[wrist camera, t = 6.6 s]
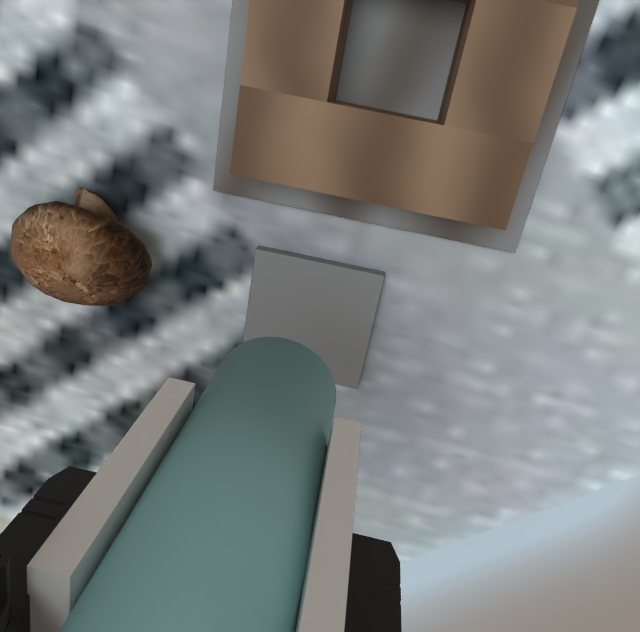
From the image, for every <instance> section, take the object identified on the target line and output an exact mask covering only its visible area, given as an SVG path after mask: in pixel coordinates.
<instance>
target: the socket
mask: <svg viewBox="0 0 640 632" xmlns="http://www.w3.org/2000/svg"><path fill="white" fill-rule="evenodd" d="M598 2H599V0H233V2H232V11H231V21H230V31H229V41H228V50H227V60H226V70H225V80H224V89H223V99H222V109H221V119H220V128H219V138H218V148H217V158H216V167H215V177H214V187H213V190H214V191H219V192H223V193H228V194H233V195H238V196H243V197H248V198H252V199H257V200H262V201H267V202H272V203H277V204H281V205H286V206H291V207H296V208H301V209H306V210H310V211H315V212H320V213H325V214H330V215H335V216H339V217H344V218H349V219H354V220H359V221H363V222H368V223H373V224H378V225H383V226H388V227H392V228H397V229H402V230H407V231H412V232H417V233H421V234H426V235H431V236H436V237H441V238H446V239H450V240H455V241H460V242H465V243H470V244H475V245H479V246H484V247H489V248H494V249H499V250H504V251H508V252H513V253H515V251H516V248H517V245H518V242H519V239H520V236H521V233H522V230H523V227H524V224H525V221H526V218H527V215H528V212H529V209H530V206H531V203H532V200H533V197H534V194H535V191H536V188H537V185H538V182H539V179H540V176H541V173H542V170H543V167H544V164H545V161H546V158H547V155H548V152H549V149H550V146H551V143H552V140H553V137H554V134H555V131H556V128H557V125H558V122H559V119H560V116H561V113H562V110H563V107H564V104H565V101H566V98H567V95H568V92H569V89H570V86H571V83H572V80H573V77H574V74H575V71H576V68H577V65H578V62H579V59H580V56H581V53H582V50H583V47H584V44H585V41H586V38H587V35H588V32H589V29H590V26H591V23H592V20H593V17H594V14H595V11H596V8H597V5H598Z"/></svg>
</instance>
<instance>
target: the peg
mask: <svg viewBox="0 0 640 632" xmlns="http://www.w3.org/2000/svg"><path fill="white" fill-rule="evenodd" d="M335 402H336V388H335V383H334V380H333V377H332V375H331V372H330V371H329V369H328V367H327V366H326V364H325V363H324V362H323V361H322V359H321V358H320V357H319V356H318V355H317V354H316V353H314V352H313V351H312V350H310V349H309V348H307V347H306V346H304V345H302V344H300V343H298V342H295V341H293V340H289V339H286V338H280V337H260V338H255V339H251V340H248V341H246V342H244V343H242V344H240V345H238V346H237V347H235V348H234V349H232V350H231V351H230V352H229V353H228V354H227V355H226V357H225V358H224V359H223V361H222V363H221V364H220V366H219V368H218V369H217V371H216V372H215V374H214V376H213V377H212V379H211V381H210V382H209V384H208V386H207V387H206V389H205V391H204V392H203V394H202V396H201V397H200V399H199V401H198V402H197V404H196V406H195V407H194V409H193V411H192V412H191V414H190V416H189V417H188V419H187V420H186V422H185V424H184V425H183V427H182V429H181V430H180V432H179V434H178V435H177V437H176V439H175V440H174V442H173V444H172V445H171V447H170V449H169V450H168V452H167V454H166V455H165V457H164V459H163V460H162V462H161V463H160V465H159V467H158V468H157V470H156V472H155V473H154V475H153V477H152V478H151V480H150V482H149V483H148V485H147V487H146V488H145V490H144V492H143V493H142V495H141V497H140V498H139V500H138V502H137V503H136V505H135V507H134V508H133V510H132V511H131V513H130V515H129V516H128V518H127V520H126V521H125V523H124V525H123V526H122V528H121V530H120V531H119V533H118V535H117V536H116V538H115V540H114V541H113V543H112V545H111V546H110V548H109V550H108V551H107V553H106V555H105V556H104V558H103V559H102V561H101V563H100V564H99V566H98V568H97V569H96V571H95V573H94V574H93V576H92V578H91V579H90V581H89V583H88V584H87V586H86V588H85V589H84V591H83V593H82V594H81V596H80V598H79V599H78V601H77V602H76V604H75V606H74V607H73V609H72V611H71V612H70V614H69V616H68V617H67V619H66V621H65V622H64V624H63V626H62V627H61V629H60V631H59V632H295V629H296V624H297V618H298V612H299V606H300V601H301V595H302V589H303V583H304V578H305V572H306V566H307V560H308V554H309V549H310V543H311V537H312V531H313V526H314V520H315V514H316V508H317V503H318V497H319V491H320V485H321V480H322V474H323V468H324V462H325V456H326V451H327V445H328V441H329V437H330V431H331V425H332V420H333V414H334V408H335Z"/></svg>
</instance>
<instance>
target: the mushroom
mask: <svg viewBox="0 0 640 632" xmlns="http://www.w3.org/2000/svg"><path fill="white" fill-rule="evenodd" d="M10 250H11V255H12V258H13V260H14V262H15V264H16V265H17V267H18V268H19V269H20V271H21V272H22V273H23V275H24V276H25V278H26V279H27V280H28V282H29V283H31V284H32V285H33V286H34V287H35V288H37V289H38V290H40V291H41V292H43V293H44V294H46V295H49V296H51V297H54V298H56V299H59V300H61V301H64V302H69V303H75V304H81V305H96V306H103V305H112V304H118V303H120V302H122V301H124V300H126V299H128V298H130V297H131V296H133V295H135V294H137V293H138V292H139V291H141V290H142V288H143V287H144V286H145V285H146V282H147V279H148V276H149V273H150V270H151V267H152V262H151V258H150V256H149V254H148V252H147V250H146V248H145V246H144V244H143V243H142V241H141V240H139V239H138V238H137V237H136V236H135V235H134V234H133V233H132V232H131V231H130V230H129V229H127V228H126V227H124V226H122V225H121V224H119V223H118V220H117V217H116V216H115V214H114V213H113V211H112V210H111V209H110V208H109V206H108V205H107V204H106V203H105V202H104V201H103V200H102V199H101V198H100V197H98V196H97V195H96V194H94V193H93V192H91V191H89V190H87V189H86V188H78V189H77V190H76V199H75V204H74V205H70V204H66V203H62V202H58V201H54V202H49V203H43V204H37V205H34V206H32V207H29V208H28V209H27V210H26V211H25V212H24V213H22V214H21V215H20V216H19V217H18V218H17V219H16V220H15V222H14V223H13V225H12V234H11V245H10Z"/></svg>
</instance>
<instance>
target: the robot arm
mask: <svg viewBox="0 0 640 632" xmlns="http://www.w3.org/2000/svg"><path fill="white" fill-rule="evenodd" d="M194 390H195V383H191V382H187V381H183V380H178V379H174V378H170V377H169V378H168V379H167V380H166V382H165V383H164V384H163V386H162V387H161V388H160V390H159V391H158V392H157V394H156V395H155V396H154V398H153V399H152V400H151V402H150V403H149V404H148V406H147V407H146V408H145V410H144V411H143V412H142V414H141V415H140V416H139V417H138V419H137V420H136V421H135V423H134V424H133V425H132V427H131V428H130V429H129V431H128V432H127V433H126V435H125V436H124V437H123V439H122V440H121V441H120V443H119V444H118V445H117V447H116V448H115V449H114V451H113V452H112V453H111V455H110V456H109V457H108V459H107V460H106V461H105V463H104V464H103V465H102V467H101V468H100V469H99V471H98V472H97V473H96V472H92V471H88V470H84V469H79V468H75V467H71V466H69V467H68V468H66V469H64V470H62V471H61V472H59V473H57V474H56V475H54V476H52V477H51V478H49V479H48V480H47V481H46V482H45V483H44V485H43V486H42V487H41V488H40V489H39V490H38V491H37V493H36V494H35V495H34V498H33V499H31V500H30V501H29V502H28V503H27V504H26V505H25V507H24V508H23V509H22V512H21V513H18V515H17V516H16V517H15V518H14V519H13V520H12V522H11V523H10V524H9V525H8V526H7V527H6V529H5V530H4V531H3V532H2V533H1V534H0V632H59V631H60V629H61V627H62V626H63V624H64V622H65V621H66V619H67V617H68V616H69V614H70V612H71V611H72V609H73V607H74V606H75V604H76V602H77V601H78V599H79V598H80V596H81V594H82V593H83V591H84V589H85V588H86V586H87V584H88V583H89V581H90V579H91V578H92V576H93V574H94V573H95V571H96V569H97V568H98V566H99V564H100V563H101V561H102V559H103V558H104V556H105V555H106V553H107V551H108V550H109V548H110V546H111V545H112V543H113V541H114V540H115V538H116V536H117V535H118V533H119V531H120V530H121V528H122V526H123V525H124V523H125V521H126V520H127V518H128V516H129V515H130V513H131V511H132V510H133V508H134V507H135V505H136V503H137V502H138V500H139V498H140V497H141V495H142V493H143V492H144V490H145V488H146V487H147V485H148V483H149V482H150V480H151V478H152V477H153V475H154V473H155V472H156V470H157V468H158V467H159V465H160V463H161V462H162V460H163V459H164V457H165V455H166V454H167V452H168V450H169V449H170V447H171V445H172V444H173V442H174V440H175V439H176V437H177V435H178V434H179V432H180V430H181V429H182V427H183V425H184V424H185V422H186V420H187V419H188V417H189V416H190V414H191V412H192V406H193V398H194ZM361 426H362V423H361V422H357V421H352V420H348V419H344V418H340V417H334V421H333V425H332V429H331V433H330V437H329V441H328V445H327V451H326V456H325V462H324V468H323V474H322V480H321V485H320V491H319V497H318V503H317V508H316V514H315V520H314V526H313V531H312V537H311V543H310V549H309V554H308V560H307V566H306V572H305V578H304V583H303V589H302V595H301V601H300V606H299V612H298V618H297V624H296V629H295V632H401V605H400V601H401V594H400V593H401V588H400V561H399V559H398V557H397V555H396V553H395V551H394V548H393V546H392V544H391V542H388V541H383V540H379V539H375V538H371V537H367V536H363V535H359V534H354V533H353V521H354V509H355V497H356V485H357V473H358V461H359V450H360V438H361Z"/></svg>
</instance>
